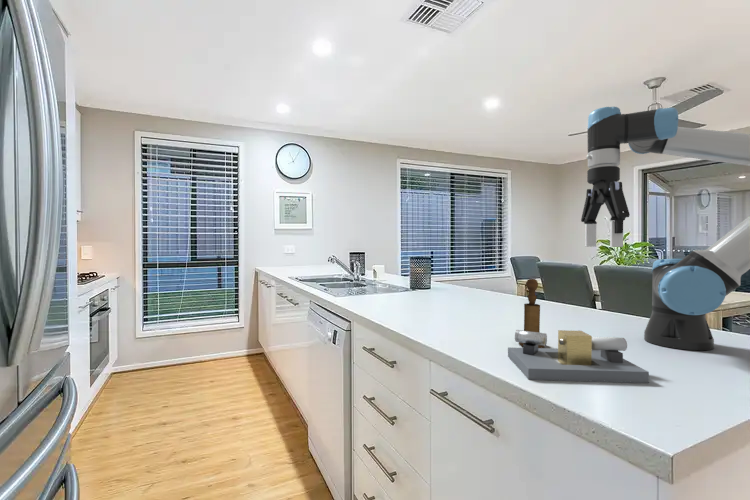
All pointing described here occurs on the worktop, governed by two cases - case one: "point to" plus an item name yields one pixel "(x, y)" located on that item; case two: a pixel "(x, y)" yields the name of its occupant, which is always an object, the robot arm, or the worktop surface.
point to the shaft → (530, 340)
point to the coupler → (574, 347)
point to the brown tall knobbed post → (532, 310)
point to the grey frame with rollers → (602, 369)
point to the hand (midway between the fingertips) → (602, 246)
